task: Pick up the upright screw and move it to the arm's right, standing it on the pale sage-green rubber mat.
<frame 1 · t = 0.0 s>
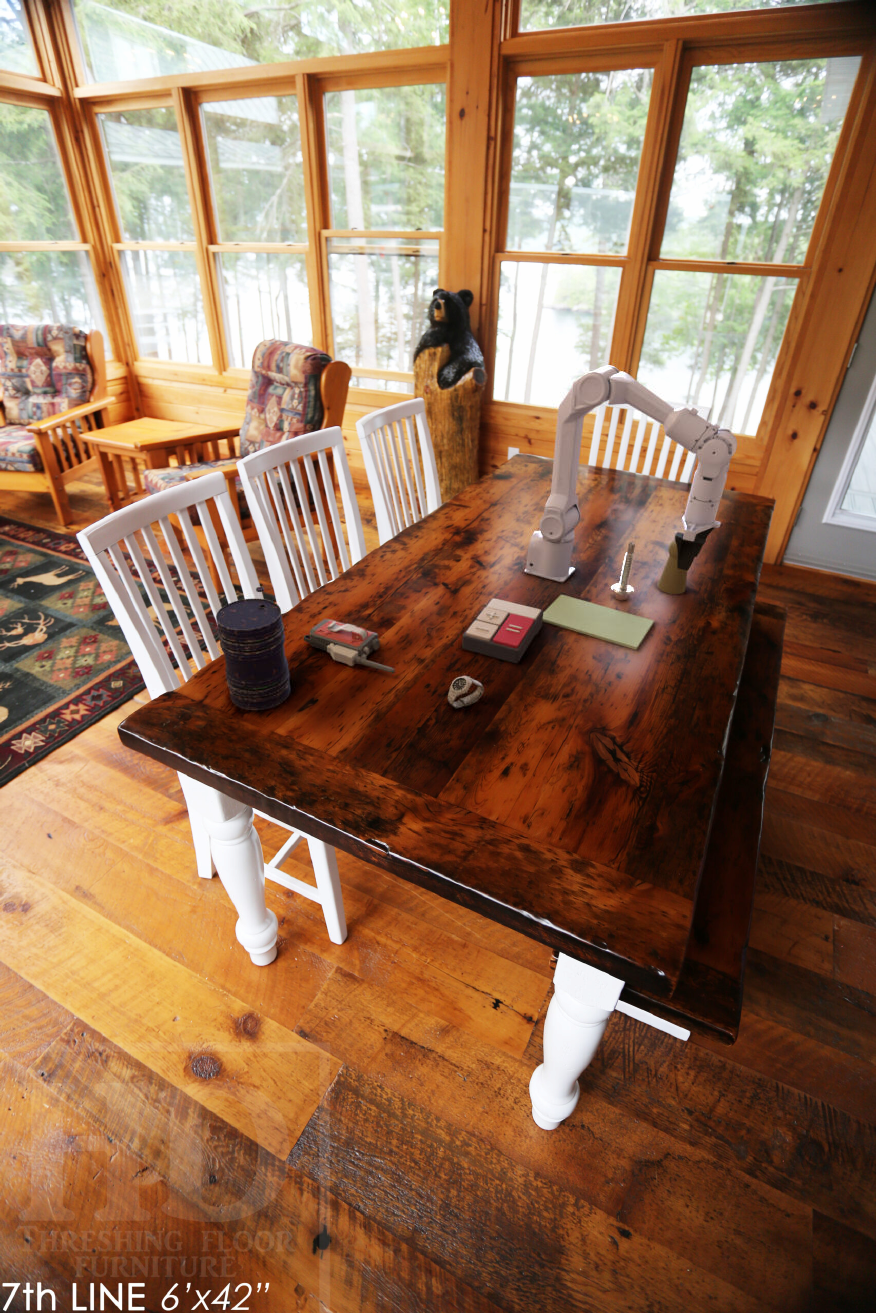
hand: (687, 562, 130), 10 cm above the table, tool pointing down, fingers open, 7 cm apart
wristwatch: (465, 704, 106), on the table
olive pawn: (670, 588, 143), on the table
walkie-talkie: (355, 654, 117), on the table
calculator: (502, 638, 123), on the table
dark blue cylinder: (260, 692, 107), on the table
mat: (596, 621, 129), on the table
screw: (620, 598, 139), on the table
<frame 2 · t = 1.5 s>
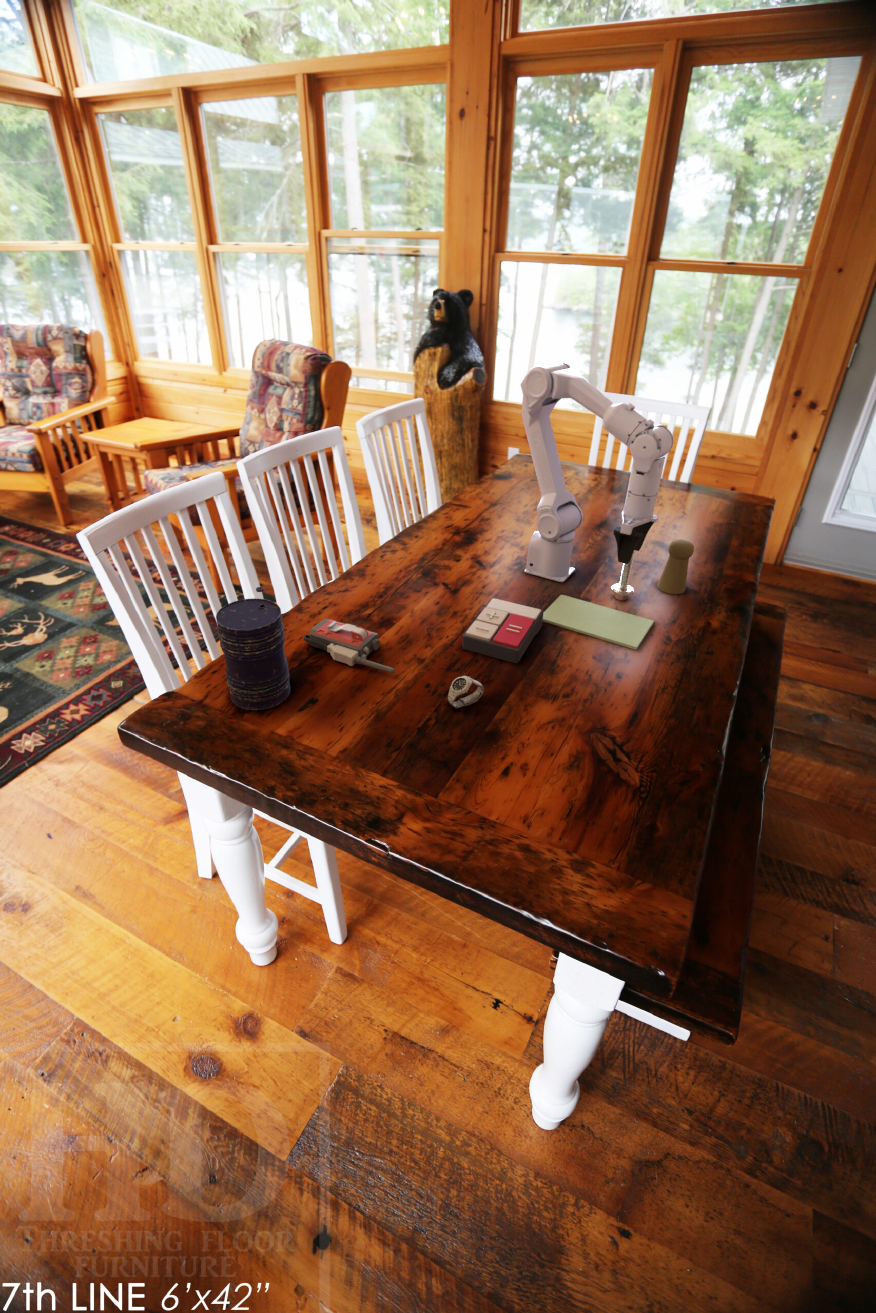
hand: (629, 555, 133), 10 cm above the table, tool pointing down, fingers open, 7 cm apart
nothing on the table moved.
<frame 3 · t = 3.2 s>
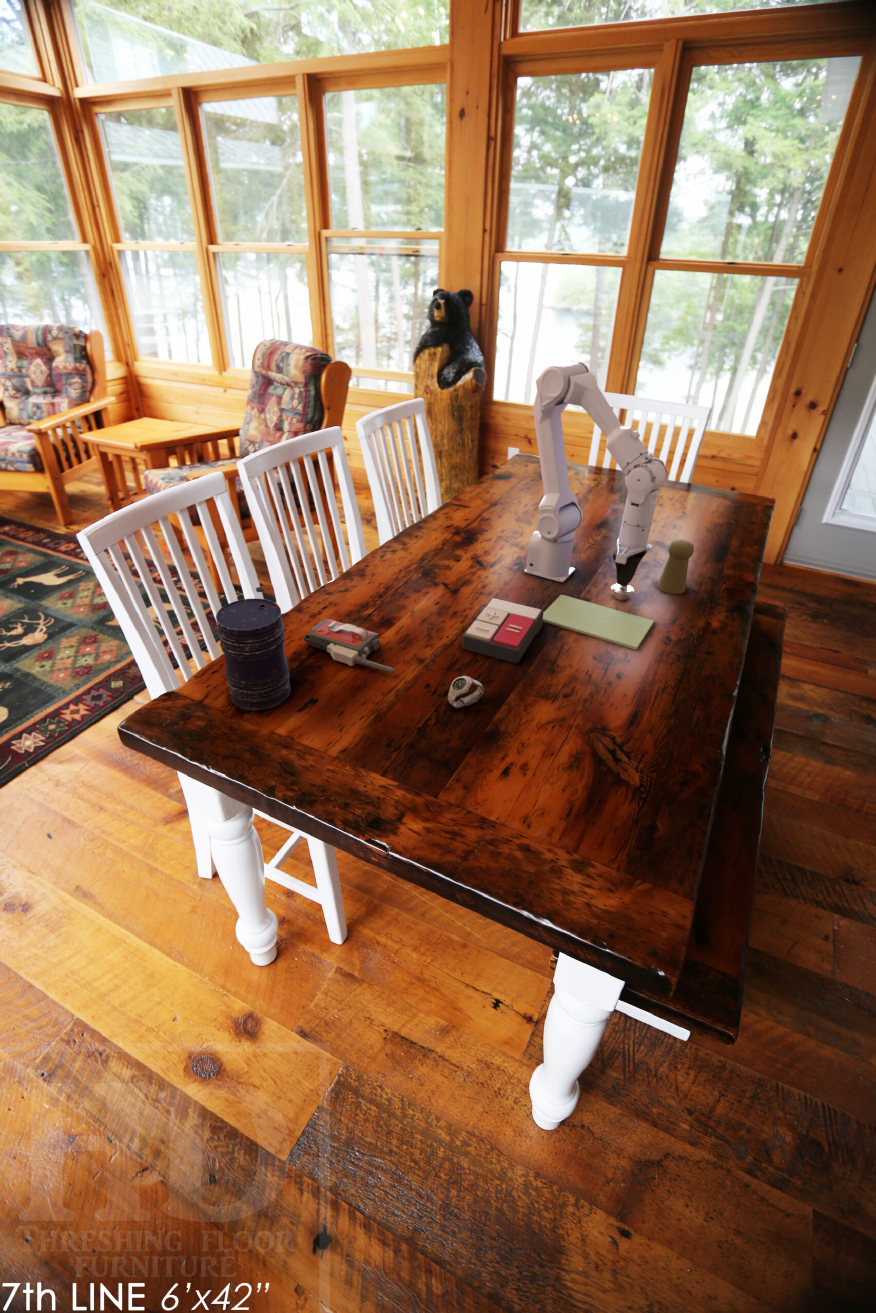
hand: (624, 582, 136), 4 cm above the table, tool pointing down, fingers closed on screw, 2 cm apart
screw: (620, 598, 139), on the table, touching gripper
everything else where it was.
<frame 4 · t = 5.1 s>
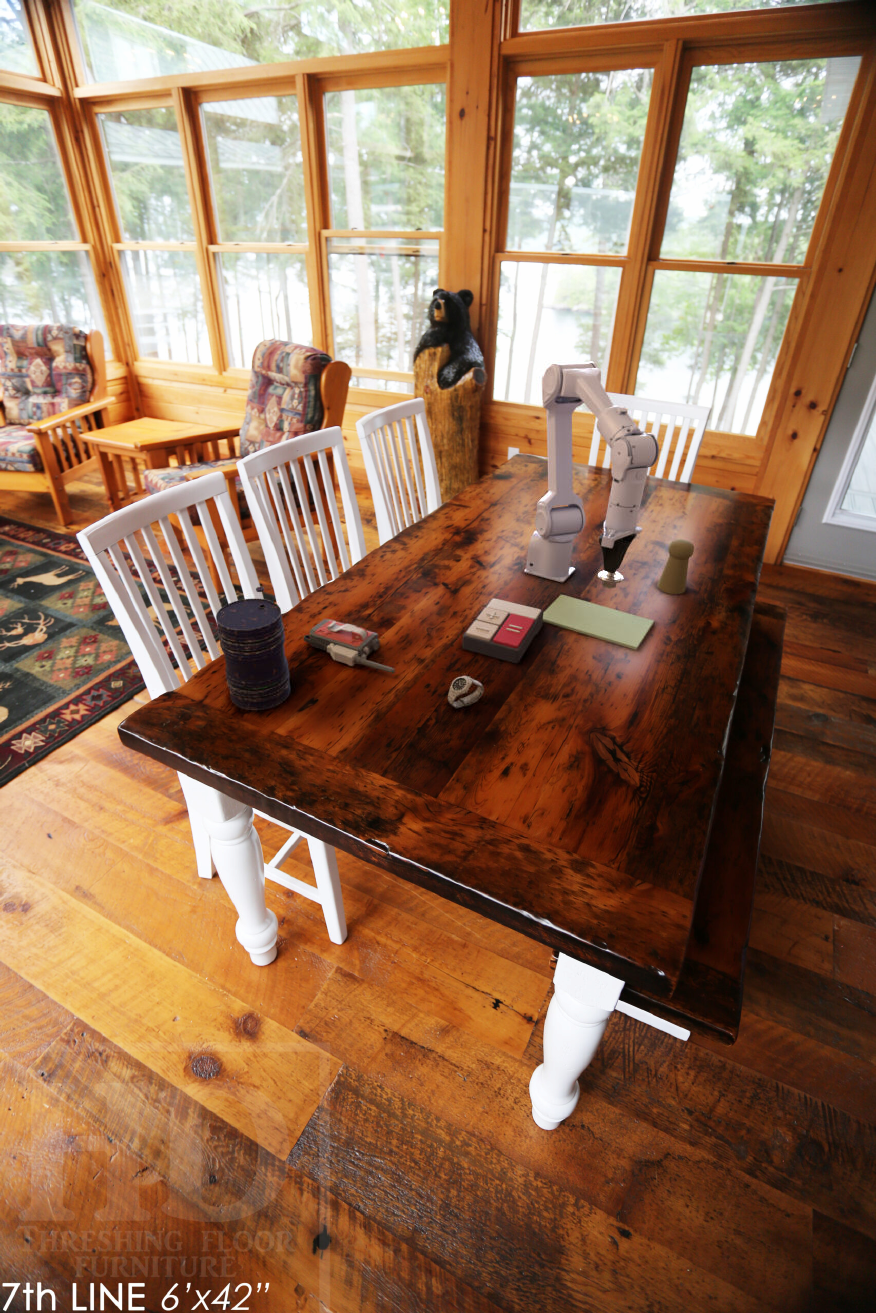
hand: (611, 569, 126), 10 cm above the table, tool pointing down, fingers closed on screw
screw: (608, 586, 128), point 7 cm above the table, touching gripper
everything else where it was.
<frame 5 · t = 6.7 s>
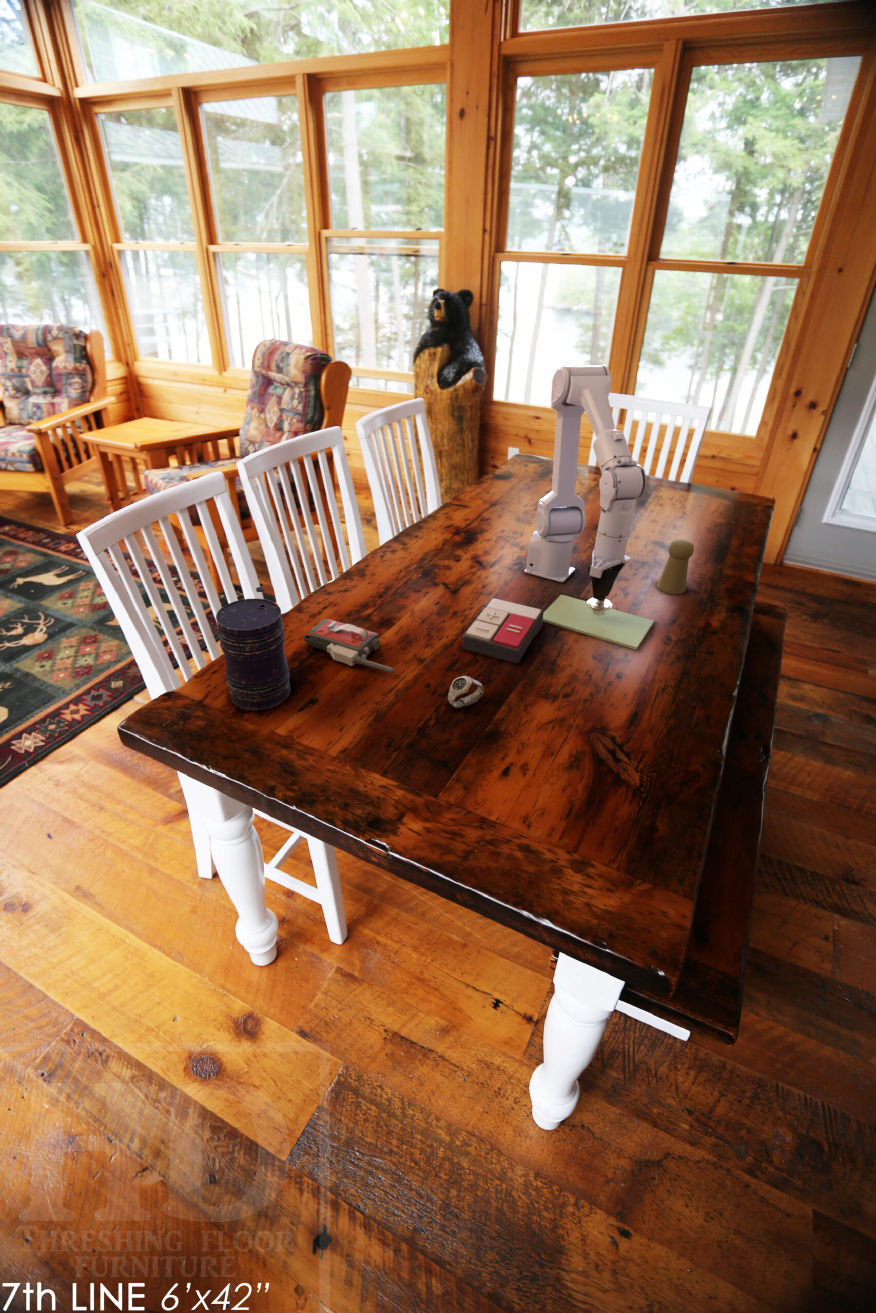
hand: (600, 596, 126), 6 cm above the table, tool pointing down, fingers closed on screw, 2 cm apart
screw: (597, 613, 128), point 2 cm above the table, touching gripper
everything else where it was.
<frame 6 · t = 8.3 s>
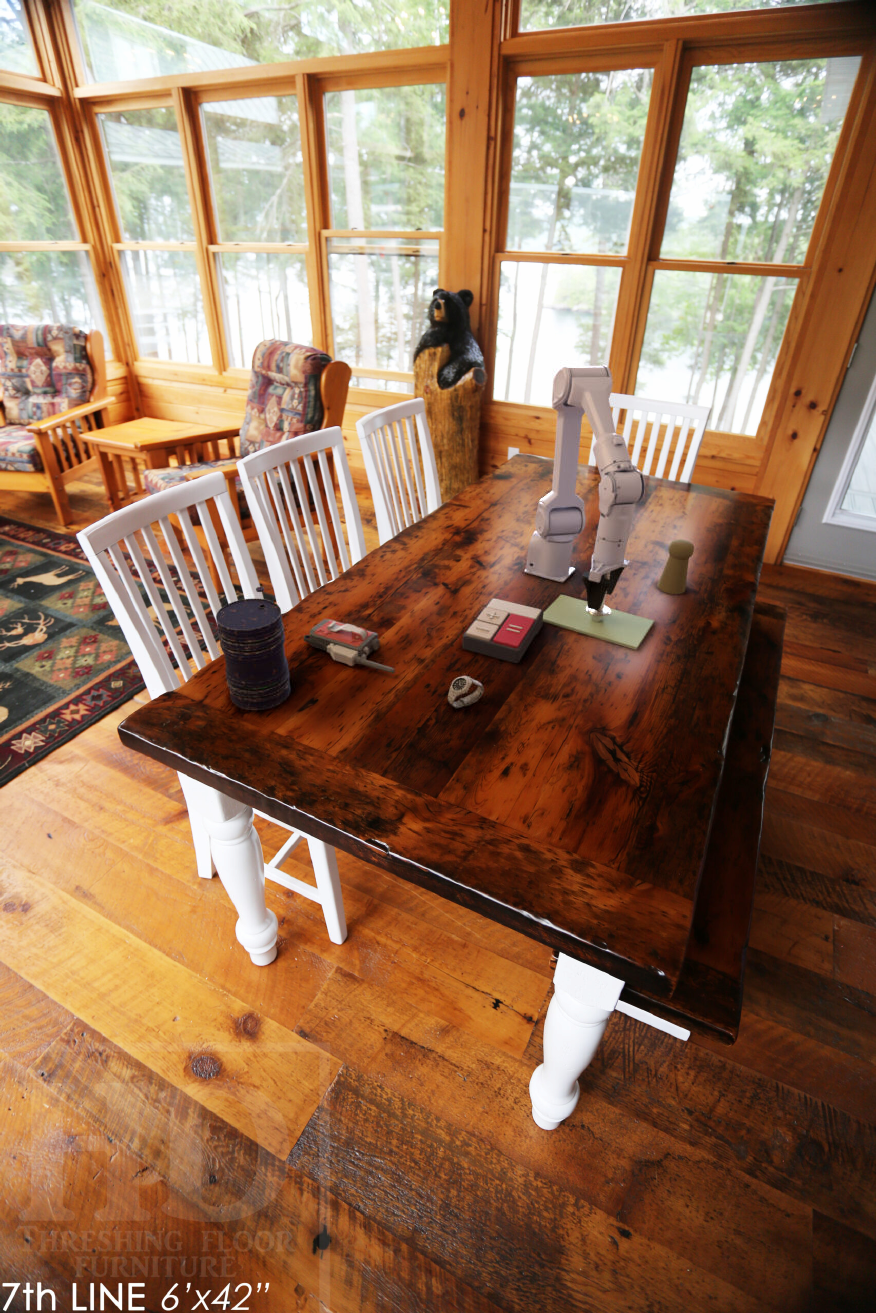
hand: (600, 600, 127), 5 cm above the table, tool pointing down, fingers open, 7 cm apart
screw: (596, 619, 129), on the table, touching mat
everything else where it was.
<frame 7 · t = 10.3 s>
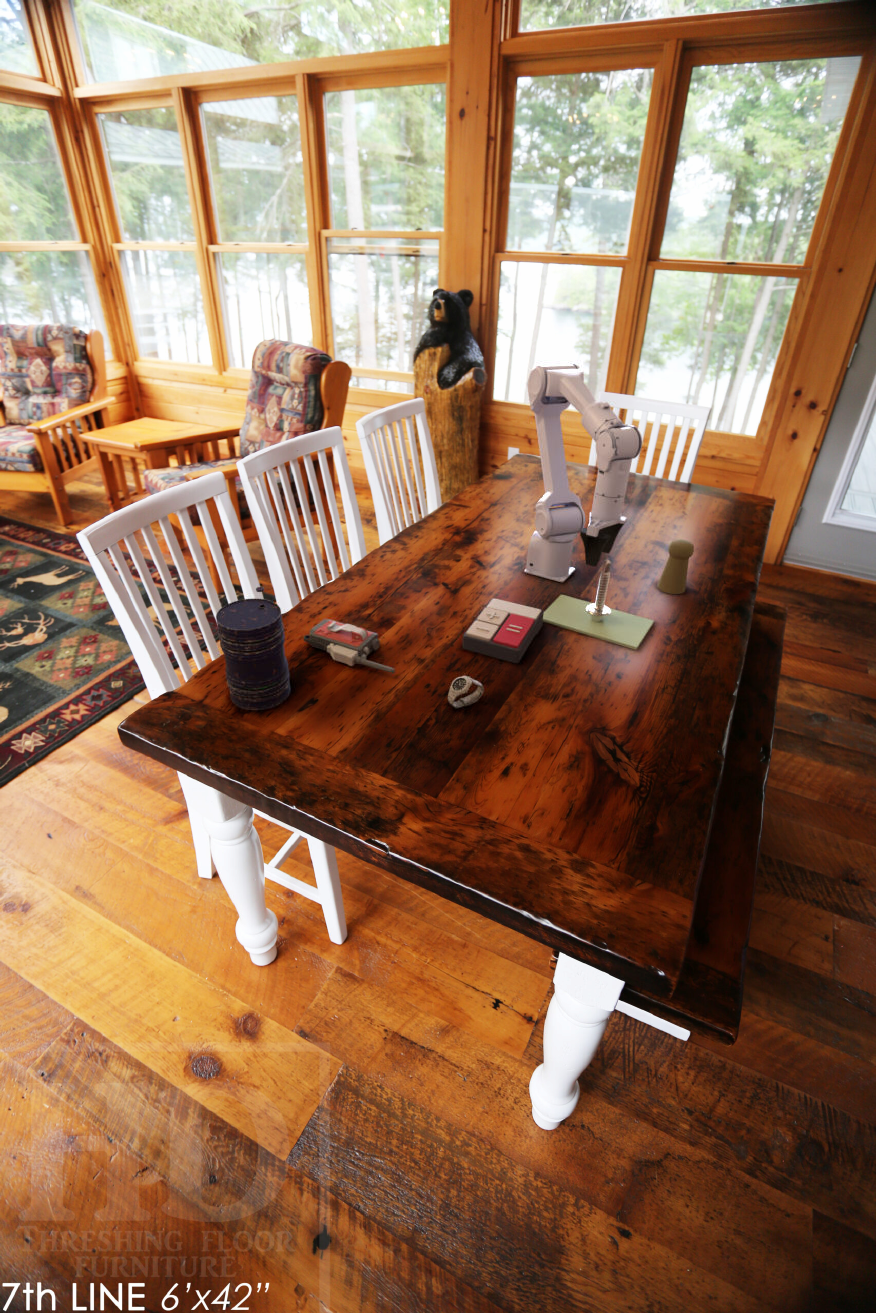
hand: (598, 558, 130), 10 cm above the table, tool pointing down, fingers open, 7 cm apart
nothing on the table moved.
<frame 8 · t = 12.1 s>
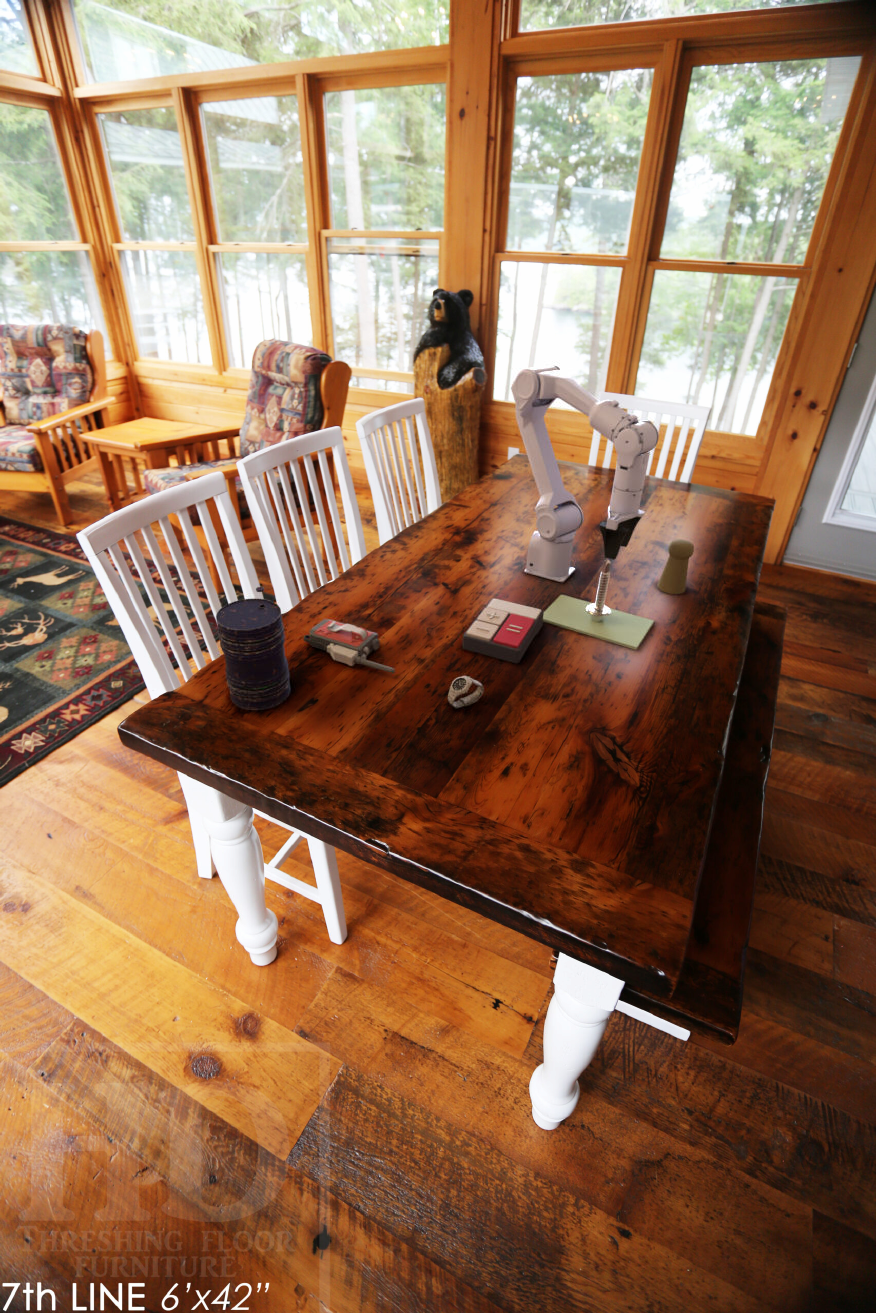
hand: (616, 551, 133), 10 cm above the table, tool pointing down, fingers open, 7 cm apart
nothing on the table moved.
at the end: screw inside the target area on the mat (0.0 cm from its centre), point 0.4 cm above the mat's base; screw tilted 0°; the gripper is holding nothing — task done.
